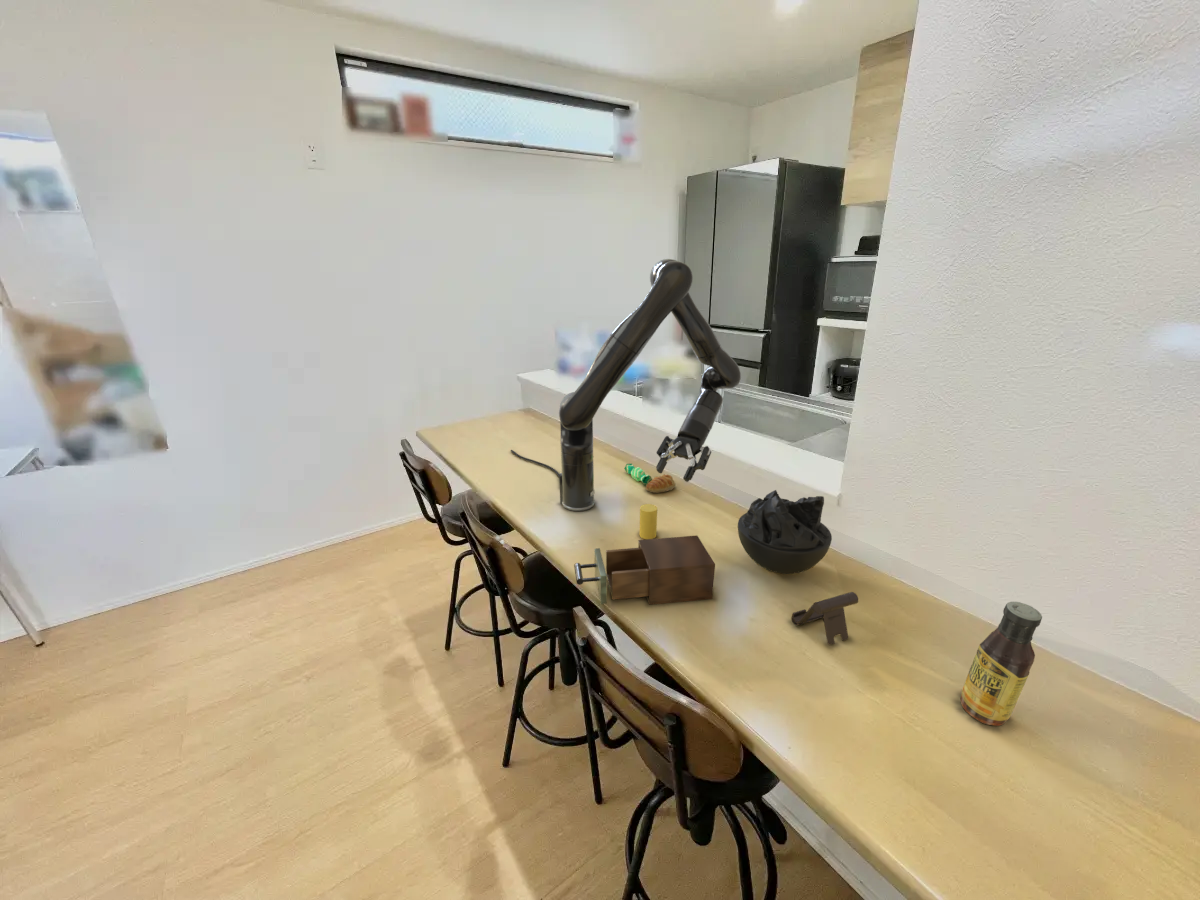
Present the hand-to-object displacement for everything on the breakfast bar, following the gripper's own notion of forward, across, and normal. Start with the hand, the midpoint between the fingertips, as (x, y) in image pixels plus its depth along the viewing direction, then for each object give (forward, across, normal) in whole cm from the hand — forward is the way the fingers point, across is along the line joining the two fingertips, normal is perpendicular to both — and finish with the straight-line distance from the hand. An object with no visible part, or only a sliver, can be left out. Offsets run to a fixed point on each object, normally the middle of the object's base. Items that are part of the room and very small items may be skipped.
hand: (671, 476), depth 131 cm
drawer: (+33, +9, -15) cm, 37 cm away
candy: (-2, -24, +22) cm, 33 cm away
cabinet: (+26, +17, -7) cm, 32 cm away
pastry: (-2, -14, +21) cm, 25 cm away
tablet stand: (+21, +47, -2) cm, 51 cm away
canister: (+17, 0, +2) cm, 17 cm away
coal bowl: (+11, +31, +9) cm, 34 cm away
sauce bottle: (+23, +72, -4) cm, 76 cm away
